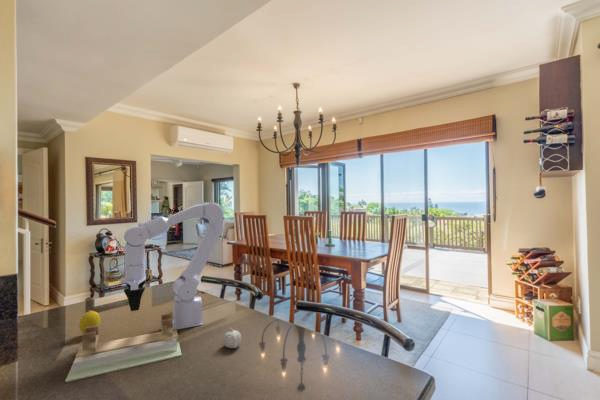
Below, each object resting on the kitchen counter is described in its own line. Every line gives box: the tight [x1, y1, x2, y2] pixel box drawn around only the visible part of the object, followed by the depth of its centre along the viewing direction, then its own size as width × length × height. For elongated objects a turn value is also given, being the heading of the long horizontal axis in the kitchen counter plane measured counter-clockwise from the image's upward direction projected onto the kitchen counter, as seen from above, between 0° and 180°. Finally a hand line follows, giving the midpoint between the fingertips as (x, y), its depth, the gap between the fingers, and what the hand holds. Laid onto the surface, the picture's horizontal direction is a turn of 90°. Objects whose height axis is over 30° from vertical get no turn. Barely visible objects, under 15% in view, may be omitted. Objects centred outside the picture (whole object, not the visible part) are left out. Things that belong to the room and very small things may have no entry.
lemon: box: [78, 309, 101, 334], centre depth 95 cm, size 6×6×8 cm
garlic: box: [222, 327, 242, 349], centre depth 88 cm, size 6×5×5 cm
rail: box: [72, 338, 178, 373], centre depth 80 cm, size 24×3×3 cm, turn 117°
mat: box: [64, 341, 182, 383], centre depth 80 cm, size 26×8×1 cm, turn 117°
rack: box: [74, 313, 179, 359], centre depth 89 cm, size 26×6×6 cm, turn 117°
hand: (135, 306), depth 95 cm, fingers open, 7 cm apart
